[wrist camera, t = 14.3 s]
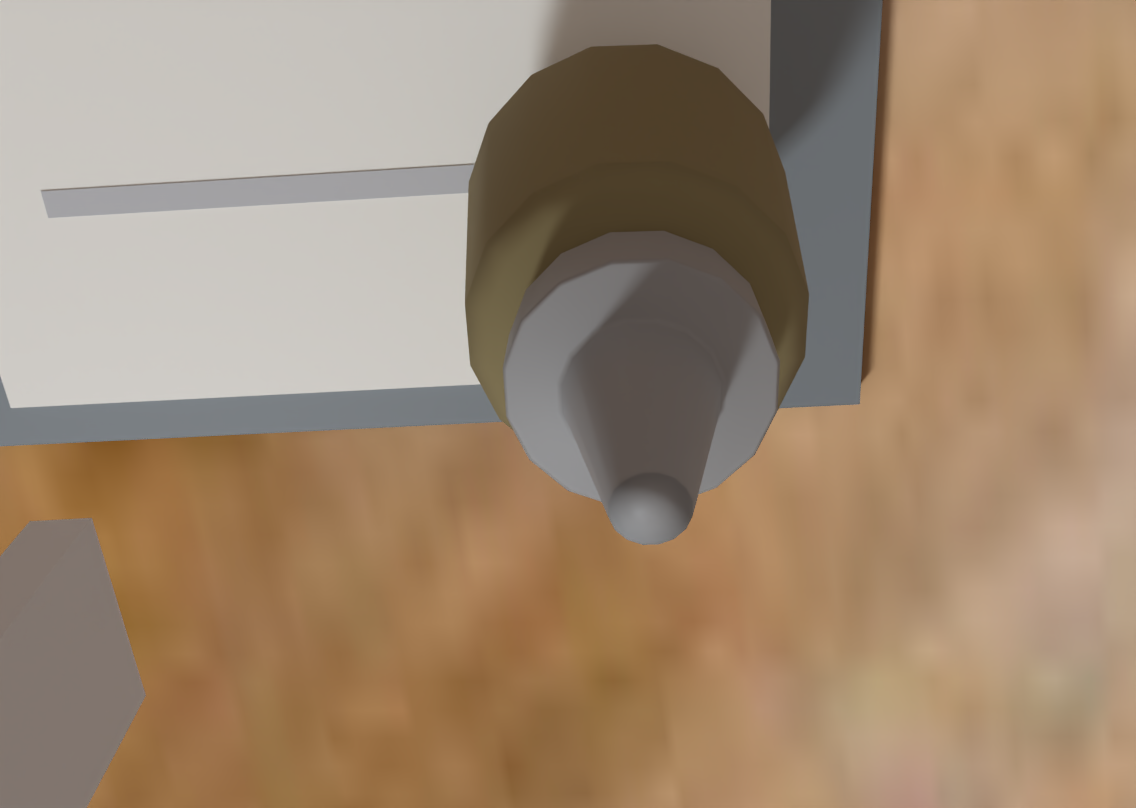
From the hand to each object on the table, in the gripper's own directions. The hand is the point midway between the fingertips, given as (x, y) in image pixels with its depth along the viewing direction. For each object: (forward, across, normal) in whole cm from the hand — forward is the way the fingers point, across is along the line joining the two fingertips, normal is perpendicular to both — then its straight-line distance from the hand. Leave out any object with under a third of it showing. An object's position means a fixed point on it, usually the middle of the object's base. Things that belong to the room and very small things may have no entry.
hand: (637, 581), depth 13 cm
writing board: (+21, -7, 0) cm, 22 cm away
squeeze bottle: (+20, +1, 0) cm, 20 cm away
